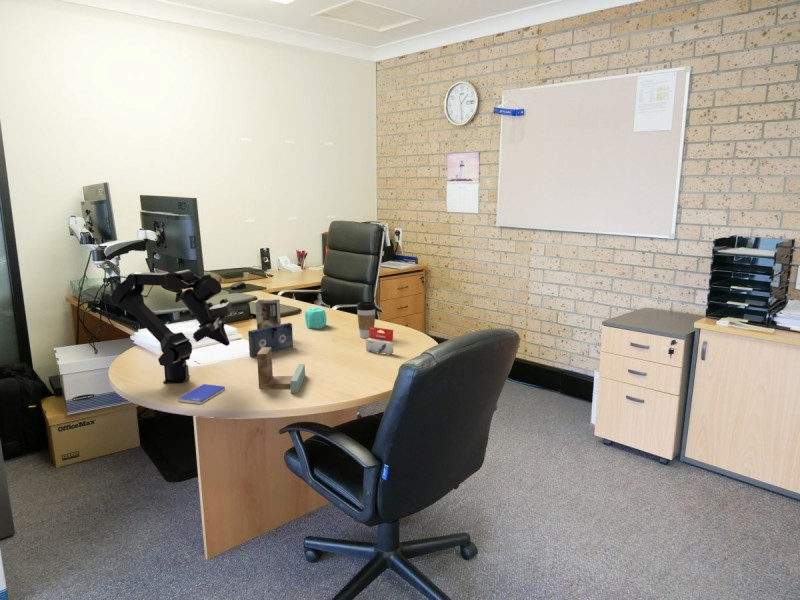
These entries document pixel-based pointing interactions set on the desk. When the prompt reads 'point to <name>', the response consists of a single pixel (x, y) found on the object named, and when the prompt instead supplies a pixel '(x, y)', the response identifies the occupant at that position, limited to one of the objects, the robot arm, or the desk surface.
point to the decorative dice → (315, 318)
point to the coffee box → (267, 313)
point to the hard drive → (201, 394)
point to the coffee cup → (365, 317)
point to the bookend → (269, 371)
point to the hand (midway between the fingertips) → (228, 344)
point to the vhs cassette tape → (271, 338)
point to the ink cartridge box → (380, 340)
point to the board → (297, 378)
